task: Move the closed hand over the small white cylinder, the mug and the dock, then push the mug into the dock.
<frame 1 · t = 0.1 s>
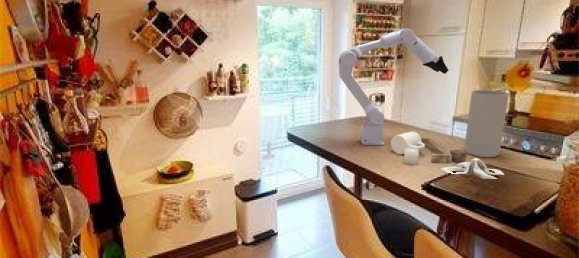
hand: (442, 71, 140), 32 cm above the kitchen island, tool tilted 50°, fingers open, 7 cm apart
mug: (409, 153, 136), on the kitchen island
small white cylinder: (410, 162, 125), on the kitchen island
dock: (436, 152, 135), on the kitchen island
walnut block: (457, 161, 126), on the kitchen island
cloth: (477, 177, 113), on the kitchen island
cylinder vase: (481, 153, 134), on the kitchen island
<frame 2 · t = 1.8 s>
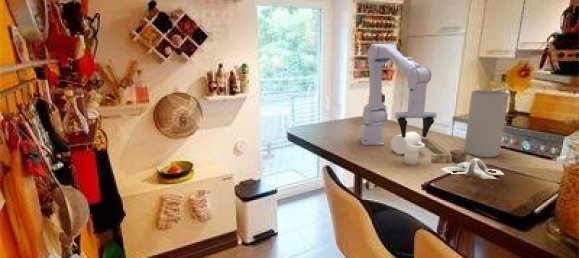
hand: (413, 136, 123), 10 cm above the kitchen island, tool pointing down, fingers open, 7 cm apart
nothing on the kitchen island moved.
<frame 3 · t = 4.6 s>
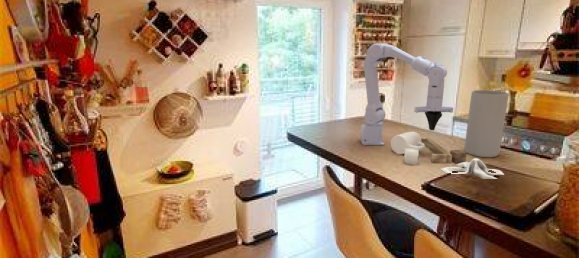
hand: (431, 129, 133), 10 cm above the kitchen island, tool pointing down, fingers closed
nothing on the kitchen island moved.
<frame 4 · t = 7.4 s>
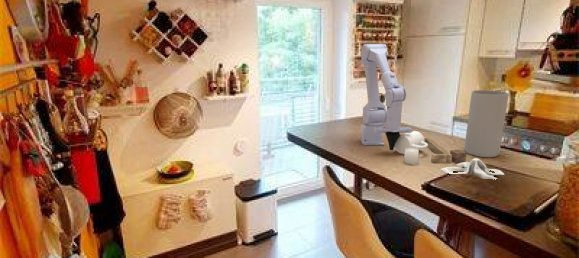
hand: (391, 149, 135), 2 cm above the kitchen island, tool pointing down, fingers closed
mug: (412, 153, 136), on the kitchen island, touching gripper
everything else where it was.
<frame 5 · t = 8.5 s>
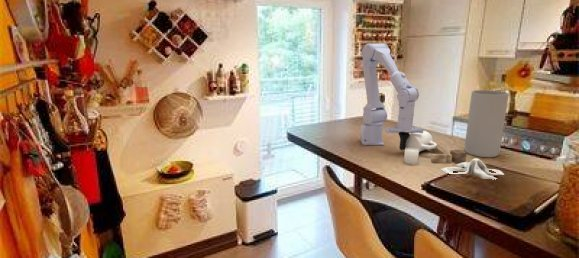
hand: (402, 149, 135), 1 cm above the kitchen island, tool pointing down, fingers closed, pressing on mug
mug: (421, 152, 136), on the kitchen island, touching dock, gripper
everything else where it was.
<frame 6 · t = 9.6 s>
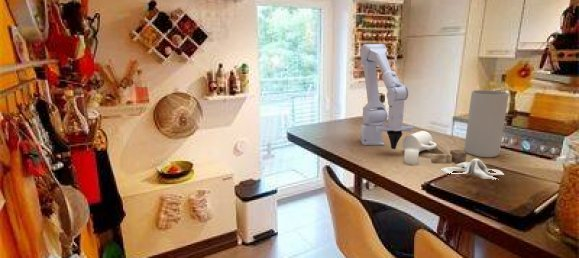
hand: (393, 148, 135), 2 cm above the kitchen island, tool pointing down, fingers closed
mug: (421, 152, 136), on the kitchen island
everything else where it was.
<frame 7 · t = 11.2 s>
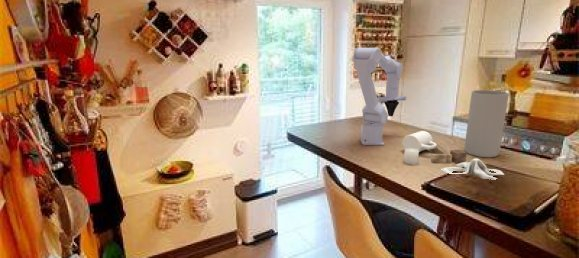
hand: (390, 115, 157), 10 cm above the kitchen island, tool pointing down, fingers closed
nothing on the kitchen island moved.
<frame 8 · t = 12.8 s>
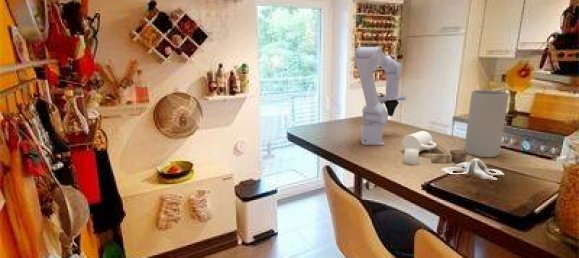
hand: (390, 115, 158), 10 cm above the kitchen island, tool pointing down, fingers closed
nothing on the kitchen island moved.
at the end: mug inside the target area (0.6 cm from its centre), on the kitchen island; mug moved 4.9 cm from its start; mug tilted 0° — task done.
